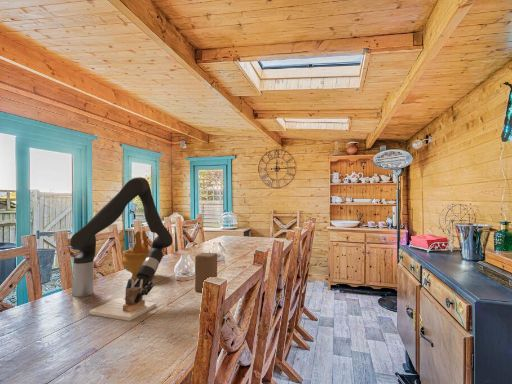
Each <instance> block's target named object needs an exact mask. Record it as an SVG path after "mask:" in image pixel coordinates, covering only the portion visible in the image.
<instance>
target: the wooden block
mask: <svg viewBox="0 0 512 384" xmlns="http://www.w3.org/2000/svg"><path fill="white" fill-rule="evenodd" d="M194 258H195V259H194V290H195V292H196V293H203V292H202V288H203V282H204V280H206V279H207V278H209V277H217V278H218V254H217V253H216V252H201V253H198V254H196V255H195V257H194Z"/></svg>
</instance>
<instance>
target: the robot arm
mask: <svg viewBox="0 0 512 384" xmlns="http://www.w3.org/2000/svg"><path fill="white" fill-rule="evenodd" d="M136 197H139V199H140V201H141V204H142V207H143V214H144V219H145V221H146V224H147V227H148V228H149V230H150V233H154V234H156V237H155V238H154V239H152V242H151V246H150V248H151V249H150V252H149V254H148V255H147V257H146V259H145V260H144V262H143V264H142V265H141V267H140V269H139V271H138V273H137V277H136V278H135V279H134V280H133V279H131V278H129V279H128V280H127V284H126V287H125V290H126V289H128V288H131V287H139V288H140V290H139V294H138V295H137V297H136V298H135V300H134V302H135V303H138V302H139V301H140V299H141V297H142V296H147V295H148V294H149V293H150V292H151V291H152V289H153V288H154V286H155V283H154V282H153V279H154V276H155V274H156V272H157V271H158V268H159V265H160V263H161V262H162V259H163V257H164V252H163V249H166V248H170V247H171V246H172V244H173V237H172V234H171V233H170V232H169V230H168V229H167V227H166V226H165V225H164V224H163V221H162V218H161V217H160V214H159V212H158V209H157V207H156V204H155V202H154V201H155V200H154V198H153V194H152V190H151V186H150V184H149V181H148V179H146V178H145V177H141V176H138V177H131V178H130V179H128V180H127V181H126V182H125V184H124V185H123V187H122V188H121V189H120V191H118V193H117V194H116V195H115V196H114V197H112V198H110V200H109V201H108V202H107V203H106V204H105V205H104V206H103V207H102V208H101V209H100V210H99V211H98V212H97V213H96V214H95V215H94V216H93V217H92V218H91V219H90V220H89V221H88V222H87V223H86V224H85V225H84V226H82V227H81V228H80V229H78V230H77V231H76V232H75V233H74V234H73V235H71V238H70V240H69V244H70V247H71V248H72V249H73V250H75V251H78V253H77V254H76V255H75V256H74V257H73V276H72V277H71V279H72V280H71V296H73V297H76V298H77V297H78V298H83V297H88V296H91V295H93V294H94V274H95V273H94V270H95V269H94V263H95V262H94V261H95V256H96V250H97V237H96V235H97V234H98V233H100V232H101V231H103V230H105V229H107V228H109V227H110V226H112V225H113V224H114V223H115V222H116V221H117V220H118V219H119V218H120V217H121V216H122V215H123V214H124V211H125V209H126V207H127V206H128V204H130V202H132V201H133V200H134V199H135V198H136Z"/></svg>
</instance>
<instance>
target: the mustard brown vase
mask: <svg viewBox="0 0 512 384" xmlns="http://www.w3.org/2000/svg"><path fill="white" fill-rule="evenodd" d="M141 235H142V236H141ZM141 237H142V238H141ZM134 239H135V243H134V245H133V246H132V248H131V249H130V248H129V249H127V250H123V251H122V254H123V255H124V256H123V257H122V259H121V262H122V265H123V268H124V269H125V270H126V272H129V273H131V277H130V279H131V280H134V279H135V278H136V277H137V273H138V271H139V269H140V267H141V265H142V264H143V262H144V260H145V259H146V257H147V255H148V254H149V252H150V249H151V247H149V241H148V238H147V233H146V231H145V230H143V229H142V233H141V231H140V230H138V231H136V232H135V234H134ZM142 240H143V243H142Z"/></svg>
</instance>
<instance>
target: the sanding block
mask: <svg viewBox="0 0 512 384" xmlns="http://www.w3.org/2000/svg"><path fill="white" fill-rule="evenodd" d="M139 290H140V288H139V287H131V288H128V289H126V288H125V297H124V299H125V305H123V311H126V312H133V311H135V310H137V309H138V308H140V307H142V306H144V305H145V299H143V296H144V295H143V296H142V297H141V299H140V301H139V302H138V303H135V302H134V300H135V298H136V297H137V295H138V294H139Z"/></svg>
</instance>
